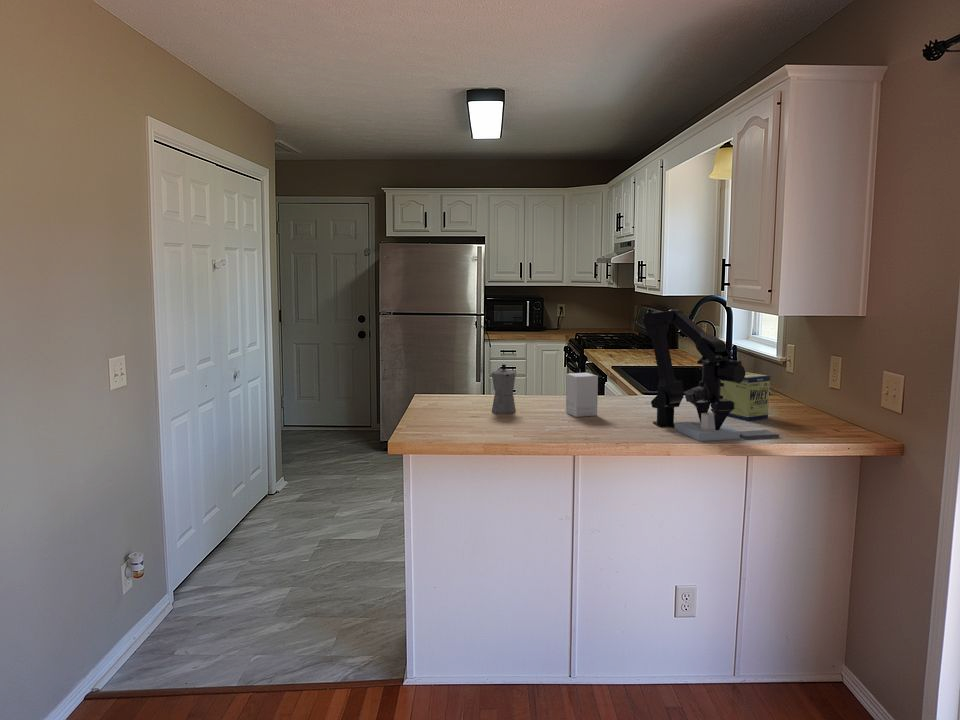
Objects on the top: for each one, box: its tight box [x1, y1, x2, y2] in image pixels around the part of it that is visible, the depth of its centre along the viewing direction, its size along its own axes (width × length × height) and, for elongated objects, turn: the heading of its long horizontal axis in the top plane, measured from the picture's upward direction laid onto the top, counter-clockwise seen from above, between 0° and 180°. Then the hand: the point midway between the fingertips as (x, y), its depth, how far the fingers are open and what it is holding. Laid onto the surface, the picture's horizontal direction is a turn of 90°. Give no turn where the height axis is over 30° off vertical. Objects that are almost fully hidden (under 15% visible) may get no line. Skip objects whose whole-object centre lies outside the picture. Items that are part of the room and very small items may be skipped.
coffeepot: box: [491, 364, 517, 415], centre depth 261 cm, size 15×9×18 cm, turn 11°
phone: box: [739, 429, 780, 440], centre depth 221 cm, size 6×12×1 cm, turn 101°
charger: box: [701, 412, 715, 431], centre depth 222 cm, size 4×4×7 cm
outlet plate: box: [674, 420, 741, 442], centre depth 224 cm, size 16×14×2 cm
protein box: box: [720, 371, 771, 422], centre depth 251 cm, size 10×16×16 cm
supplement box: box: [565, 372, 599, 418], centre depth 254 cm, size 9×9×15 cm
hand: (709, 426), depth 222 cm, fingers open, 9 cm apart
